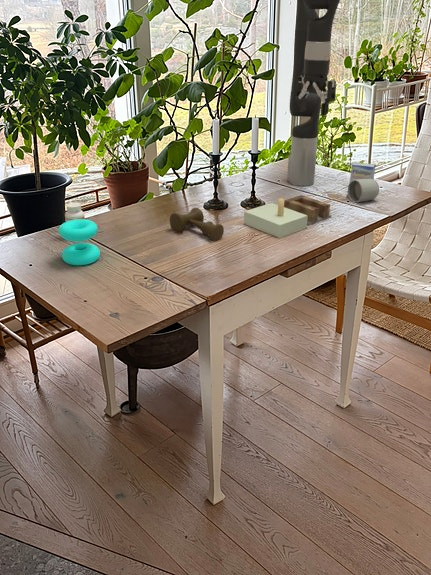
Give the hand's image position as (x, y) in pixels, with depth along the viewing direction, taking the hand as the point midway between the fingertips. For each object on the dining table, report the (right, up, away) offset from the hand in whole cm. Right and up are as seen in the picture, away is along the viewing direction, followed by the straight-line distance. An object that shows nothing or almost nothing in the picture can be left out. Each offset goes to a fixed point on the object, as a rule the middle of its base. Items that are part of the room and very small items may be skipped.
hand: (313, 113), depth 181 cm
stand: (-12, -35, -2) cm, 37 cm away
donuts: (-66, -47, -24) cm, 84 cm away
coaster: (-1, -31, +5) cm, 32 cm away
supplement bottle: (-71, -39, -10) cm, 81 cm away
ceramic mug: (+19, -24, +20) cm, 37 cm away
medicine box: (+23, -18, +32) cm, 43 cm away
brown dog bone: (-36, -38, -6) cm, 52 cm away
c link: (-1, -31, +5) cm, 31 cm away
